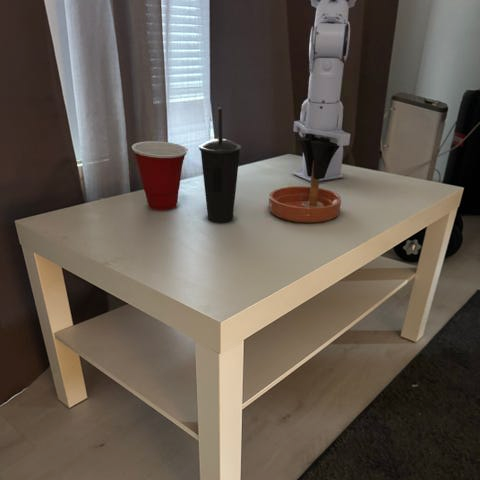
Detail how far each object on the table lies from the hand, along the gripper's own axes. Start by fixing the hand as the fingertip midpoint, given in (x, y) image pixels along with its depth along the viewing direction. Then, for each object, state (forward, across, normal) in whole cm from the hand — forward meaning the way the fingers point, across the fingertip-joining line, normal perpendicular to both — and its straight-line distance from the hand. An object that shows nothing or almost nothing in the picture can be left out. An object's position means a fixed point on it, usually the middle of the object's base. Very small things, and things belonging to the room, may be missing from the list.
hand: (315, 177), depth 94 cm
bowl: (+7, -1, -1) cm, 8 cm away
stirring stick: (+6, 0, 0) cm, 6 cm away
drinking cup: (+7, -5, -18) cm, 20 cm away
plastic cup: (+7, -17, -25) cm, 31 cm away
